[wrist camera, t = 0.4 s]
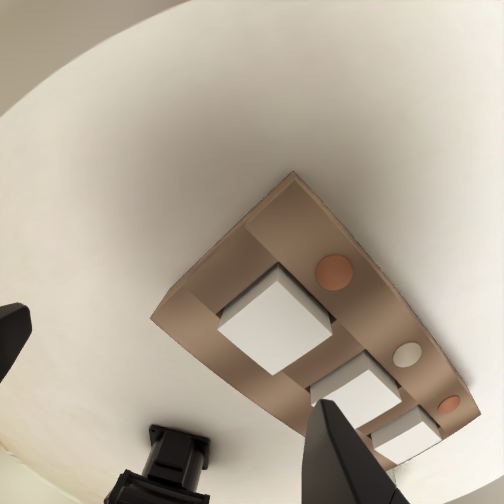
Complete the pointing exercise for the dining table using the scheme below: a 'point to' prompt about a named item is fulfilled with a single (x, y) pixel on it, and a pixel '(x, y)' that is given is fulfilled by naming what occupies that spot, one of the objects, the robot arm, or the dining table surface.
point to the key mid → (358, 389)
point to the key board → (332, 298)
